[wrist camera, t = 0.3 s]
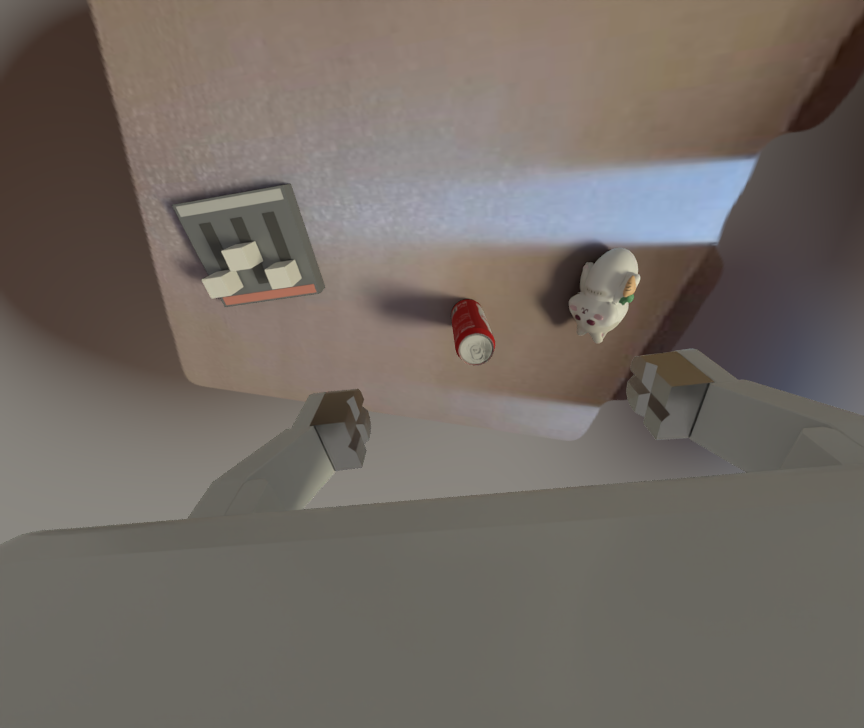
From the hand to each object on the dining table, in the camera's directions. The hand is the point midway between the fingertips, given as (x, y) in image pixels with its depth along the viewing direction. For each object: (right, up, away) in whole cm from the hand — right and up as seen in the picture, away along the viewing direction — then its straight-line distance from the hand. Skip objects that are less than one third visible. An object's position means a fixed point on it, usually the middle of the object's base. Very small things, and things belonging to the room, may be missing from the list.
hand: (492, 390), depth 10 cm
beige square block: (-30, +18, +41) cm, 54 cm away
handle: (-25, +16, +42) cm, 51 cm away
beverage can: (+4, +10, +49) cm, 51 cm away
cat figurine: (+26, +14, +47) cm, 55 cm away
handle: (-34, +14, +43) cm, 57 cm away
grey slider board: (-30, +20, +44) cm, 57 cm away
